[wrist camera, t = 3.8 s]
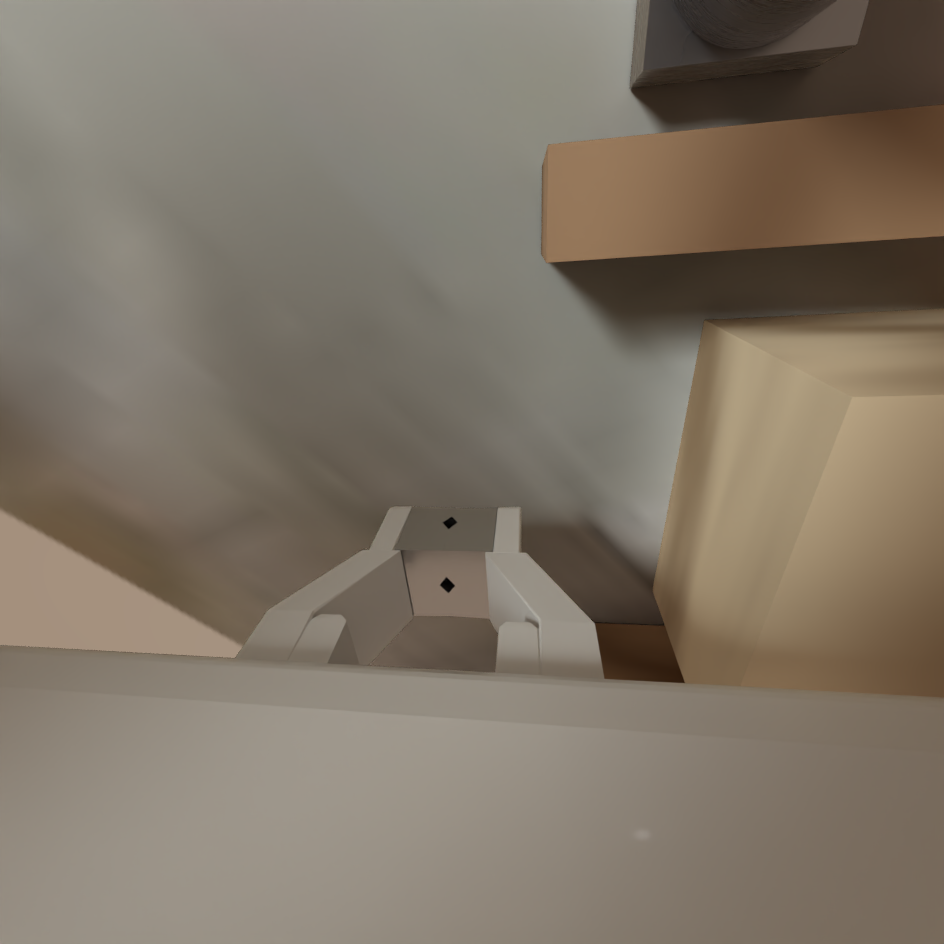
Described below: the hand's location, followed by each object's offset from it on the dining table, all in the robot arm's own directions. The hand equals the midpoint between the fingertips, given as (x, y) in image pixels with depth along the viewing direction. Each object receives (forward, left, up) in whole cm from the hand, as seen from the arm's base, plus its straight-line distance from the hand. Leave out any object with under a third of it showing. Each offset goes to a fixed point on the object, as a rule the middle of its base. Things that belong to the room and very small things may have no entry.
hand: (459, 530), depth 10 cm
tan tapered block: (+8, 0, -2) cm, 9 cm away
